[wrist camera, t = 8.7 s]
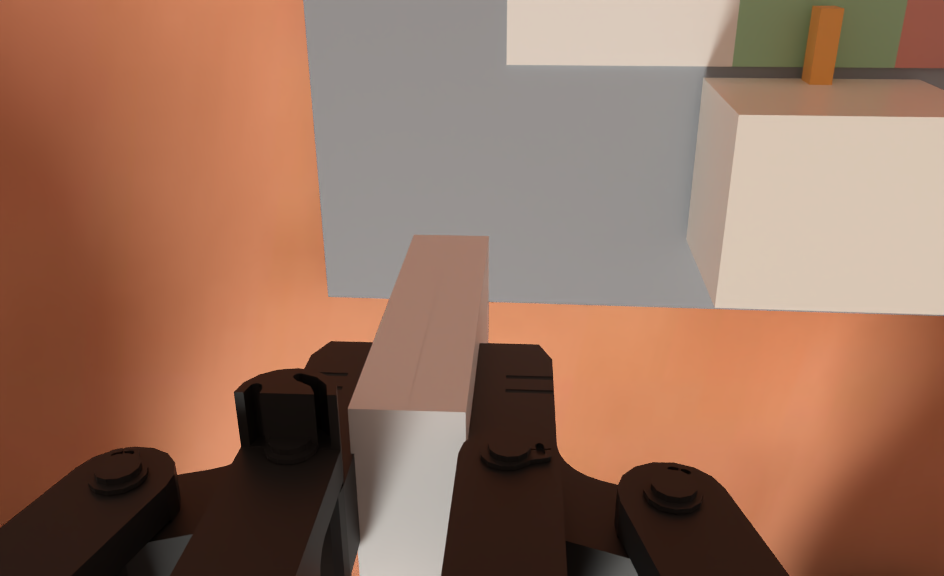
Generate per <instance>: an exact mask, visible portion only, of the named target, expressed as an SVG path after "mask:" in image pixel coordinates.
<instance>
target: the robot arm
mask: <svg viewBox="0 0 944 576" xmlns="http://www.w3.org/2000/svg"><path fill="white" fill-rule="evenodd" d="M488 314H489V236H456V235H414V236H413V238H412V241H411V244H410V246H409V249H408V251H407V254H406V257H405V259H404V262H403V265H402V267H401V270H400V272H399V275H398V278H397V280H396V283H395V286H394V288H393V291H392V293H391V296H390V299H389V301H388V304H387V307H386V309H385V312H384V315H383V317H382V320H381V322H380V325H379V328H378V330H377V333H376V336H375V338H374V341H373V342H337V341H330V342H329V343H328V344H326V345H325V346H324V347H322V348H321V349H319V350H318V351H317V352H315V353H314V354H312V355H311V357H310V359H309V361H308V363H307V365H306V367H305V369H299V368H297V369H282V370H276V371H272V372H268V373H264V374H260V375H258V376H256V377H254V378H252V379H250V380H248V381H246V382H244V383H243V384H242V385H241V386H240V387H239V388H238V389H237V390H236V391H235V392H234V396H235V404H236V411H237V419H238V426H239V434H240V441H241V448H240V450H239V452H238V453H237V455H236V457H235V459H234V461H233V462H232V464H230V465H227V466H224V467H219V468H215V469H211V470H205V471H199V472H193V473H186V474H180V475H177V472H176V466H175V462H174V461H173V460H172V458H171V457H170V456H169V455H168V453H165V452H163V451H160V450H157V449H155V448H145V447H128V448H124V449H123V448H120V449H116V450H112V451H110V452H107V453H104V454H101V455H98V456H96V457H93V458H91V459H90V460H88V461H86V462H85V463H83V464H81V465H80V466H78V467H76V468H75V469H74V470H73V471H71V472H70V473H69V474H68V475H66V476H65V477H64V478H63V479H61V480H60V481H59V482H57V483H56V484H55V485H54V486H52V487H51V488H50V489H49V490H47V491H46V492H45V493H44V494H42V495H41V496H40V497H39V498H37V499H36V500H35V501H34V502H32V503H31V504H30V505H29V506H27V507H26V508H25V509H24V510H22V511H21V512H20V513H18V514H17V515H16V516H15V517H13V518H12V519H11V520H10V521H8V522H7V523H6V524H5V525H3V526H2V527H1V528H0V576H351V573H352V569H353V565H354V562H355V558H356V555H357V551H358V559H359V573H360V576H789V574H788V573H787V572H786V570H785V569H784V568H783V566H782V565H781V564H780V562H779V561H778V559H777V558H776V557H775V555H774V554H773V553H772V551H771V550H770V549H769V547H768V546H767V545H766V543H765V542H764V541H763V539H762V538H761V536H760V535H759V534H758V532H757V531H756V530H755V528H754V527H753V526H752V524H751V523H750V522H749V520H748V519H747V518H746V516H745V515H744V514H743V512H742V511H741V509H740V508H739V507H738V505H737V504H736V503H735V501H734V500H733V499H732V497H731V496H730V495H729V493H728V492H727V491H726V489H725V488H724V487H723V486H722V485H721V484H720V483H718V482H717V481H716V480H715V479H714V478H713V477H712V476H710V475H708V474H706V473H704V472H702V471H700V470H698V469H696V468H694V467H689V466H685V465H681V464H677V463H656V462H652V463H648V464H644V465H640V466H636V467H634V468H633V469H631V470H630V471H628V472H627V473H625V474H624V475H623V476H622V478H621V480H620V482H619V484H618V485H616V484H612V483H608V482H604V481H600V480H597V479H594V478H591V477H588V476H586V475H584V474H582V473H580V472H578V471H577V470H575V469H573V468H572V467H571V466H570V465H569V464H567V463H566V462H565V461H564V459H563V458H562V457H561V455H560V454H559V451H558V448H557V442H556V423H555V405H554V386H553V368H552V359H551V358H550V357H549V356H548V355H547V353H546V352H545V351H544V350H543V349H542V348H541V347H540V345H533V344H495V343H488Z"/></svg>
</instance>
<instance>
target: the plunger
mask: <svg viewBox="0 0 944 576" xmlns="http://www.w3.org/2000/svg"><path fill="white" fill-rule="evenodd" d="M843 15H844V8H841V7H838V6H812V13H811V19H810V26H809V32H808V39H807V46H806V52H805V59H804V65H803V72H802V78H703V85H702V94H701V104H700V113H699V123H698V132H697V142H696V151H695V161H694V170H693V180H692V189H691V199H690V208H689V218H688V227H687V237H686V240H687V243H688V245H689V248H690V250H691V252H692V255H693V257H694V260H695V262H696V264H697V267H698V269H699V271H700V274H701V276H702V279H703V281H704V283H705V286H706V288H707V291H708V293H709V295H710V298H711V300H712V302H713V305H714V307H715V308H737V309H769V310H801V311H833V312H865V313H897V314H929V315H944V90H942V89H940V88H938V87H935V86H933V85H931V84H928V83H926V82H924V81H922V80H919V79H833V74H834V68H835V63H836V57H837V51H838V45H839V39H840V33H841V27H842V21H843Z"/></svg>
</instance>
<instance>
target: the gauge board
mask: <svg viewBox="0 0 944 576" xmlns="http://www.w3.org/2000/svg"><path fill="white" fill-rule="evenodd" d="M303 2H304V14H305V26H306V38H307V49H308V61H309V73H310V85H311V97H312V109H313V120H314V132H315V144H316V156H317V168H318V180H319V192H320V203H321V215H322V227H323V239H324V251H325V263H326V275H327V286H328V297H352V298H384V299H390V296H391V293H392V291H393V288H394V286H395V283H396V280H397V278H398V275H399V272H400V270H401V267H402V265H403V262H404V259H405V257H406V254H407V251H408V249H409V246H410V244H411V241H412V238H413V236H414V235H456V236H489V302H512V303H544V304H575V305H607V306H639V307H671V308H703V309H735V310H767V311H799V312H831V313H862V314H894V315H926V316H944V315H929V314H897V313H865V312H833V311H801V310H769V309H737V308H715V307H714V305H713V302H712V300H711V298H710V295H709V293H708V291H707V288H706V286H705V283H704V281H703V279H702V276H701V274H700V271H699V269H698V267H697V264H696V262H695V260H694V257H693V255H692V252H691V250H690V248H689V245H688V243H687V240H686V237H687V227H688V218H689V208H690V199H691V189H692V180H693V170H694V161H695V151H696V142H697V132H698V123H699V113H700V104H701V94H702V85H703V78H802V72H803V65H804V59H805V52H806V46H807V39H808V32H809V26H810V19H811V13H812V6H838V7H841V8H844V15H843V21H842V27H841V33H840V39H839V45H838V51H837V57H836V63H835V68H834V74H833V79H919V80H922V81H924V82H926V83H928V84H931V85H933V86H935V87H938V88H940V89H942V90H944V0H303Z"/></svg>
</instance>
